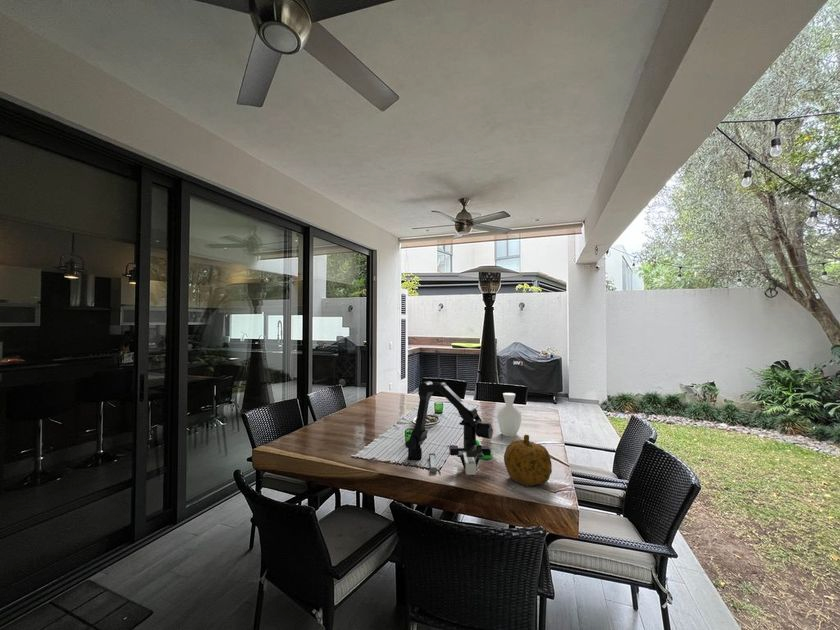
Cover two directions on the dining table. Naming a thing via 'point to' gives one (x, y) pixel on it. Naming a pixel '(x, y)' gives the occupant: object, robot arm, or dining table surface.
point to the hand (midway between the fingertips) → (469, 469)
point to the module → (470, 465)
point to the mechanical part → (483, 455)
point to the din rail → (432, 463)
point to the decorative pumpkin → (527, 462)
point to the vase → (509, 416)
